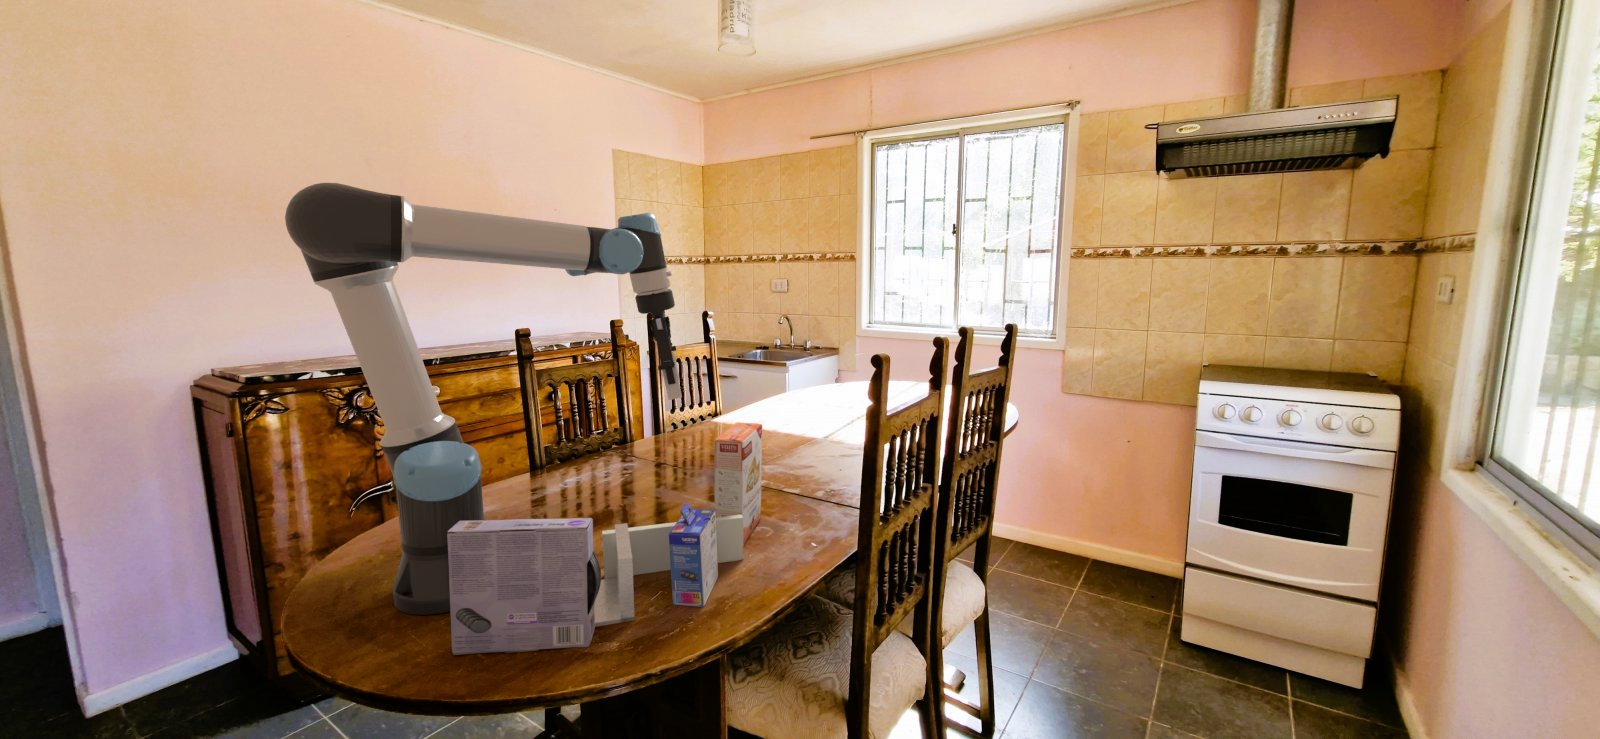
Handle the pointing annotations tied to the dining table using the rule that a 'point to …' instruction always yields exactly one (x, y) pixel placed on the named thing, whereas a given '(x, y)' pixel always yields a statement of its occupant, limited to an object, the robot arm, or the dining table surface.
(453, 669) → the dining table surface
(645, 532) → the back wall
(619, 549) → the bookend
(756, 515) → the cracker box
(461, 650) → the cake pan box
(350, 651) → the dining table surface
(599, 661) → the dining table surface
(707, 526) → the ink cartridge box
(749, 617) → the dining table surface
